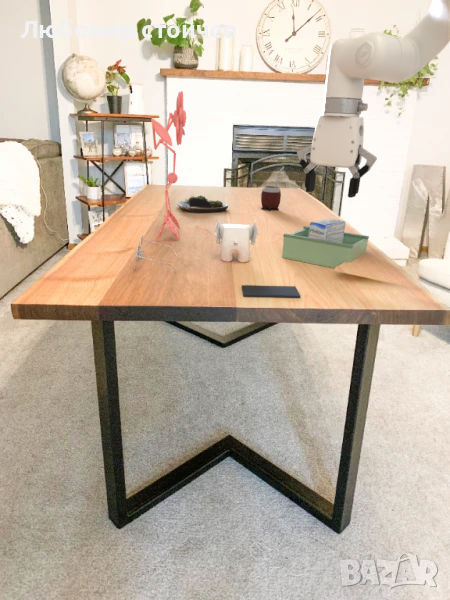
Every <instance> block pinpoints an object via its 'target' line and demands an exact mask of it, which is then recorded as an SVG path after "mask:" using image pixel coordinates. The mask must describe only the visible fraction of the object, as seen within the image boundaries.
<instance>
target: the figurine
mask: <svg viewBox="0 0 450 600" xmlns="http://www.w3.org/2000/svg"><path fill="white" fill-rule="evenodd" d="M175 103H176V104H175V105H176V106H175V108H176V109H174V112H173V113H172V112H169V114H168V115H169V116H168V119H167V123H166V126H165V127H164V126H163V125H162V124H161V123H160V122H159V121H157V120H155V118H151V119H150V122H151V129H152V140H153V148H154V150H157V149H158V148H159V146H160V144H162V145H163V146H164V147H165V148H167V149H168V151H170V152H172V154H173V163H172V169H173V170H172V172H169V173H168V174H167V176H166V180H167V182H168V183H167V184H166V185H165V190H164V196H165V210H166V211H165V212H166V215H165V214H164V215H163V223H162V225H161V227H160V229H159V231H158V233H157V234H156V238H155V239H157V240H158V239H159V238H160V236H161V234H162V232H163V230H164V228H165V226H167V228H168V229H169V230H170V232H171V233H172V235H174V237H176V239H177V240H179V241H180V239H181V238H180V235H179V233H178V230H180V229H181V227H180V224H179V221H178V219H177V218H176V216H175V214H173V212H172V209H171V202H170V196H169V189H170V187H171V186H172V184H176V183H177V182H178V179H179V178H178V175H177V173H175V172H176V158H177V152H176V150H174V149H173V148H172V147H173V141H172V137H171V135H170V133H169V130H170V128H171V127H172V124H173V126H174V128H175V141H176V145H177V146H179V145H181V144H182V141H183V136H186V133H185V129H184V128H185V126H186V123H187V113H186V110H185V109H184V92H183V90H181V91H179V92H178V94H177V97H176V102H175ZM156 134H157V135H158V137H159V140H158V142H157V138H156ZM176 227H177V229H178V230H177V229H176ZM196 228H199V229H201V230H204V231H208V232H209V229H208V228H203V227H199V226H196ZM213 234H214V232H213V233H212V235H213ZM212 235H211V234H210V235H209V237H206V240H207V239H209V238H210V237H211V236H212ZM149 242H150V241H149ZM150 244H152V242H150ZM155 244H158V242H156V243H155Z"/></svg>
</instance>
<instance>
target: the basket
mask: <svg viewBox="0 0 450 600" xmlns="http://www.w3.org/2000/svg"><path fill="white" fill-rule="evenodd" d="M309 229H310V226H307V225H303V228H302V229H300V230H297V231H294V232H291V233H283V235H282V236H283V239H282V240H283V241H282V253H281V258H282V259H286V260H287V259H288V260H292V261H297V262H302V263H306V264H312V265H317V266H322V267H326V268H331V269H335V268H337V267H339V266H340V265H342V264H344V263H350V262H352V261H353V260H355V259H357V258H359V257H360V256H362V255H363V254H365V253H366V252H367V250H368V249H367V247H368V243H369V238H370V236H369V235H364V234H358V233H352V232H345V231H344V237H343V243H338V242H332V241H326V240H320V239H315V238H309Z"/></svg>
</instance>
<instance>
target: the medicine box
mask: <svg viewBox="0 0 450 600" xmlns="http://www.w3.org/2000/svg"><path fill="white" fill-rule="evenodd" d="M346 223H347V222H346V221H345V220H342V219H337V218H331V217H329V218H328V217H327V218H324V219H318V220H313V221H311V222H310V223H309V227H310V229H309V238H315V239H320V240H326V241H332V242H338V243H343V237H344V232H345V230H346Z"/></svg>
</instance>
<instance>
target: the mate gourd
mask: <svg viewBox="0 0 450 600" xmlns="http://www.w3.org/2000/svg"><path fill="white" fill-rule="evenodd" d="M283 169H285V166H282V167H281V168H280V170H279V171H278V173H277V177H276V181H275V184H274V185H266V186H264V187H263V188H262V190H261V194H260V202H261V203H260V204H261V210H268V212H271V211H279V209H280V207H279V206H280V203H281V199H282V198H281V197H282V192H281V189H280V187H279V186H277V185H278V182H279V178H280V176H281V173H282V171H283Z"/></svg>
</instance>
